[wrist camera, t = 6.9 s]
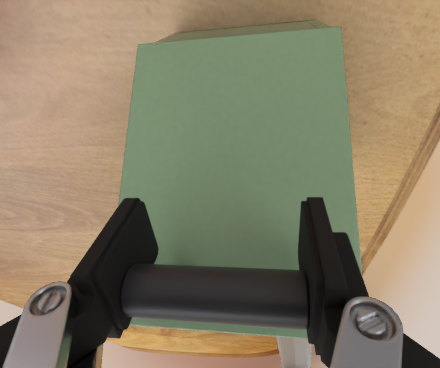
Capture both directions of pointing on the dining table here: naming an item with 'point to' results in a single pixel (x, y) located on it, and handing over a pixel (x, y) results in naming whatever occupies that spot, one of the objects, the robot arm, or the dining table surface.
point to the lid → (235, 177)
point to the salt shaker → (294, 352)
